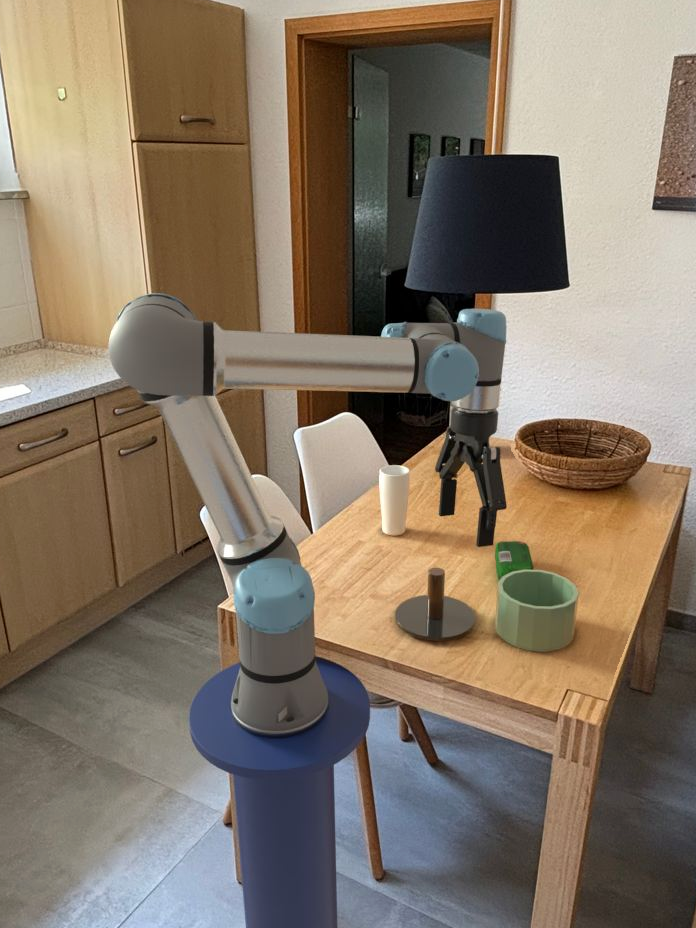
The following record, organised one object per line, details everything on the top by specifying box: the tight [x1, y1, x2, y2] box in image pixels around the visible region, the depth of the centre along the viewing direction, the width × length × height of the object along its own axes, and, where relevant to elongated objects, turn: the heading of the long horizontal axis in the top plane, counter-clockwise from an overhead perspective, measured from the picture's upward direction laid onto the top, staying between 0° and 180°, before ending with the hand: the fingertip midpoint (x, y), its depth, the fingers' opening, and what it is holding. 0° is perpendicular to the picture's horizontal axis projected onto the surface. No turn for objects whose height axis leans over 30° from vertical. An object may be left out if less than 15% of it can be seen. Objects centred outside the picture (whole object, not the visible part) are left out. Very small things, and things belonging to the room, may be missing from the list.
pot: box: [494, 569, 580, 653], centre depth 136 cm, size 14×14×8 cm
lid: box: [394, 567, 476, 641], centre depth 139 cm, size 15×15×10 cm
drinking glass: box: [378, 464, 411, 537], centre depth 173 cm, size 7×7×15 cm
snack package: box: [494, 540, 535, 582], centre depth 156 cm, size 7×16×5 cm, turn 173°
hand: (464, 529), depth 131 cm, fingers open, 13 cm apart
